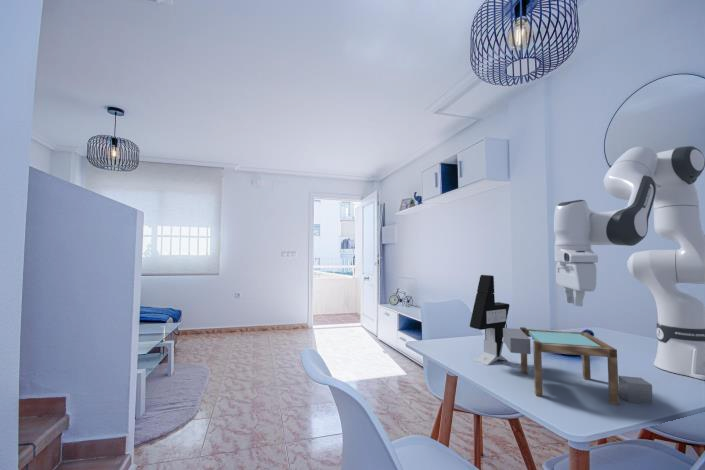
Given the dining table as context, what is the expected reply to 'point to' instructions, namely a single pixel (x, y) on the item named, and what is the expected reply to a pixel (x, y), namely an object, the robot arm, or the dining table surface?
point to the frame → (575, 350)
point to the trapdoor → (541, 339)
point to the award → (489, 320)
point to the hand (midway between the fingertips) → (574, 304)
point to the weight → (635, 390)
